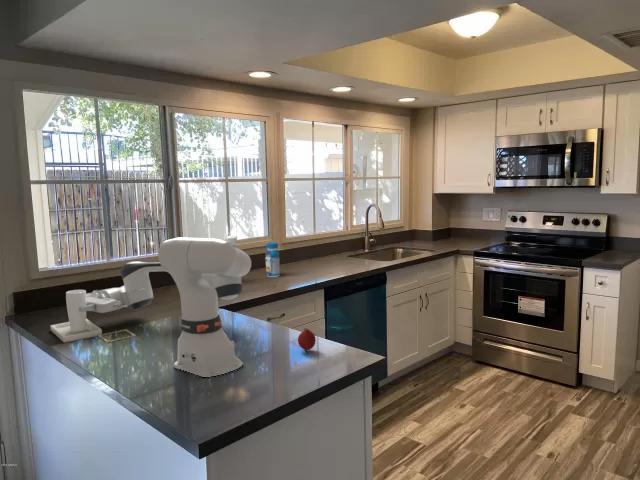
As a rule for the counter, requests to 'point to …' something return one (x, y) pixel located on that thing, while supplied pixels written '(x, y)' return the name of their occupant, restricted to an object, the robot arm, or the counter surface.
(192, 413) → the counter surface
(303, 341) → the onion
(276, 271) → the beverage bottle
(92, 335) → the tray
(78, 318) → the drinking glass
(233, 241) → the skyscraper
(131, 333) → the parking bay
